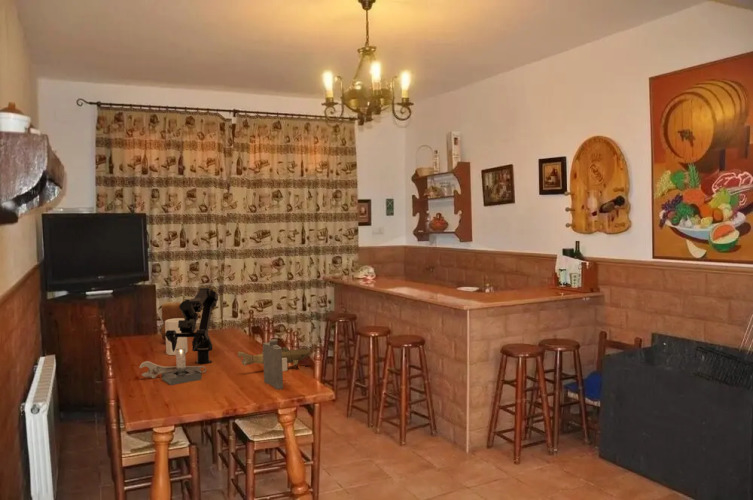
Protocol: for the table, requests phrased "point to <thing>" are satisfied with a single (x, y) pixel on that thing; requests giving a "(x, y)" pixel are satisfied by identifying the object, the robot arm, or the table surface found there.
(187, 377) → the grey square frame
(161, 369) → the wrench
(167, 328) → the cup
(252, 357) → the wood carving
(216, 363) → the table surface
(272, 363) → the hip flask
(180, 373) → the pin
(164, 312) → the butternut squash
